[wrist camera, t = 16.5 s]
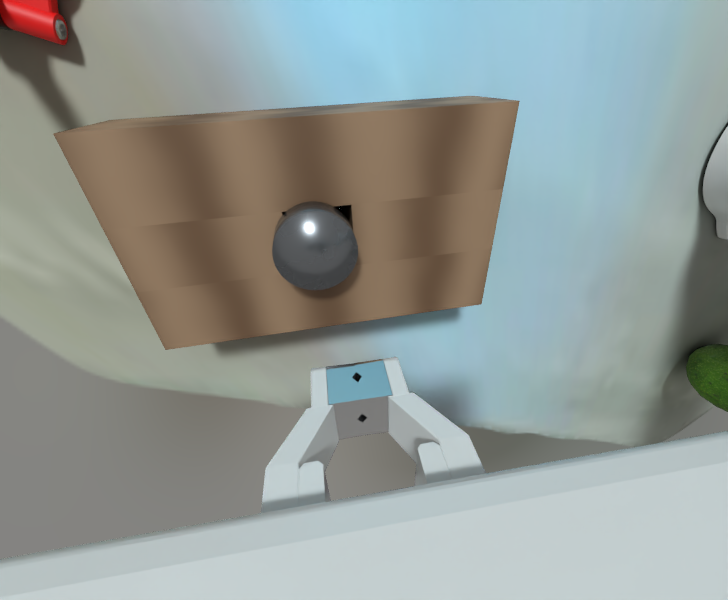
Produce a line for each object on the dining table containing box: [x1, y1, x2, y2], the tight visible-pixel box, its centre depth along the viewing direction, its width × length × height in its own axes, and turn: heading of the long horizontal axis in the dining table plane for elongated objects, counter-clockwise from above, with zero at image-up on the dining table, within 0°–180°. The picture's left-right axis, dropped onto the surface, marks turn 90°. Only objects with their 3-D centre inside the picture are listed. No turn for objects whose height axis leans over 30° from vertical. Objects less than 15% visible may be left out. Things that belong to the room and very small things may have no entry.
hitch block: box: [54, 96, 519, 350], centre depth 24 cm, size 24×14×6 cm, turn 93°
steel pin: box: [272, 201, 358, 290], centre depth 23 cm, size 5×5×8 cm
